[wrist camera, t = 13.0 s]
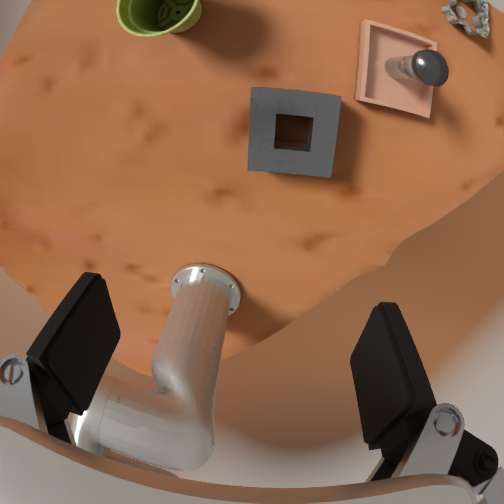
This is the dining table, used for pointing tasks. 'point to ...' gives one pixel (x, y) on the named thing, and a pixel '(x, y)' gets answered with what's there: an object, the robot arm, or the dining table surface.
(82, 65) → the dining table surface
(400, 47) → the tray
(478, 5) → the egg carton
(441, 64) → the pin
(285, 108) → the socket block
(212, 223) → the dining table surface
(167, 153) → the dining table surface
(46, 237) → the dining table surface
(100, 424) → the robot arm
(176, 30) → the plant pot
